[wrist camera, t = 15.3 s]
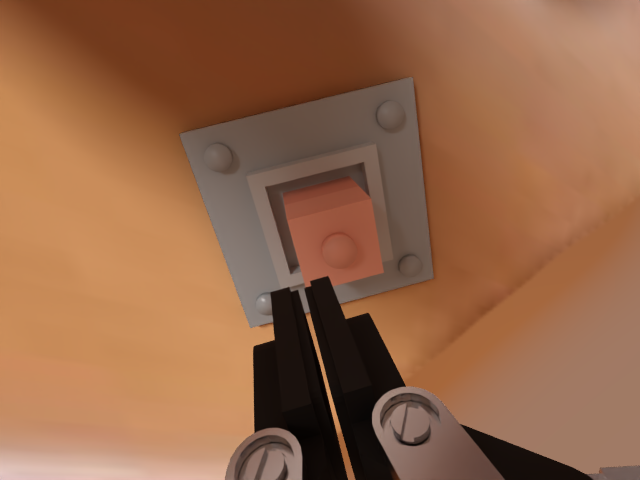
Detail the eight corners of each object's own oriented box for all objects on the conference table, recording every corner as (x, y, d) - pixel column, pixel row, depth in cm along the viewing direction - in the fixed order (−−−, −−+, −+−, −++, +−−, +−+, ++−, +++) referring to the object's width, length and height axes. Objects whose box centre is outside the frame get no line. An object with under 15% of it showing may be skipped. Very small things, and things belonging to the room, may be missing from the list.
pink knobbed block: (282, 193, 26) (287, 225, 20) (349, 175, 26) (375, 202, 20) (298, 253, 28) (308, 300, 22) (360, 237, 28) (387, 278, 22)
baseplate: (182, 132, 25) (174, 136, 23) (407, 77, 25) (419, 76, 23) (250, 320, 31) (249, 337, 29) (428, 272, 32) (440, 285, 30)
